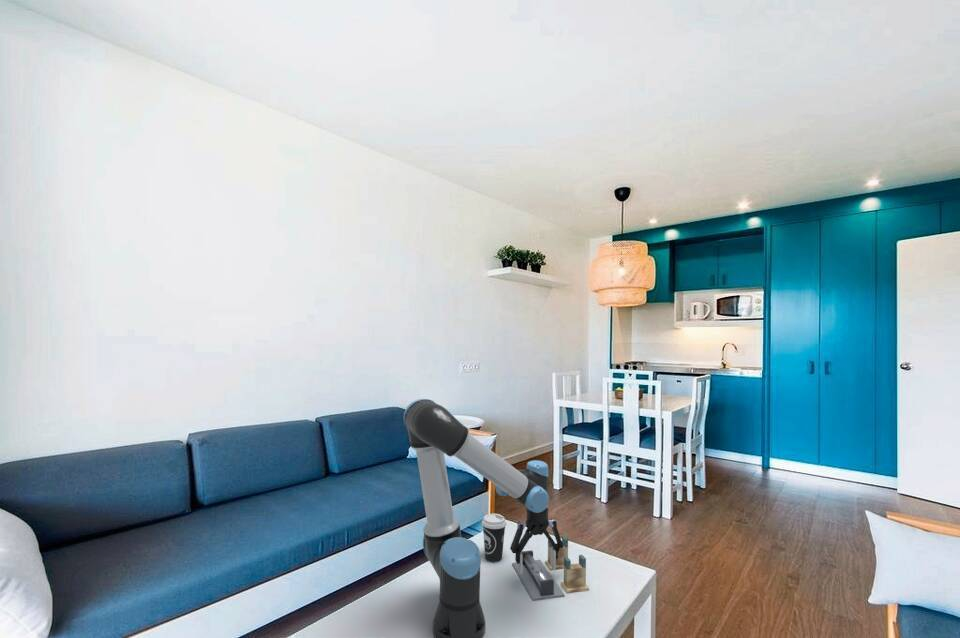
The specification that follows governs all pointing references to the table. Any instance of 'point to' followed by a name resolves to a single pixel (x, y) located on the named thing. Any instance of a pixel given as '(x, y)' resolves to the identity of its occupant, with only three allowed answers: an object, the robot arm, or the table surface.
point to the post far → (561, 554)
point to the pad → (532, 584)
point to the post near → (574, 575)
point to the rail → (538, 574)
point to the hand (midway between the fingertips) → (536, 570)
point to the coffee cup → (493, 536)
